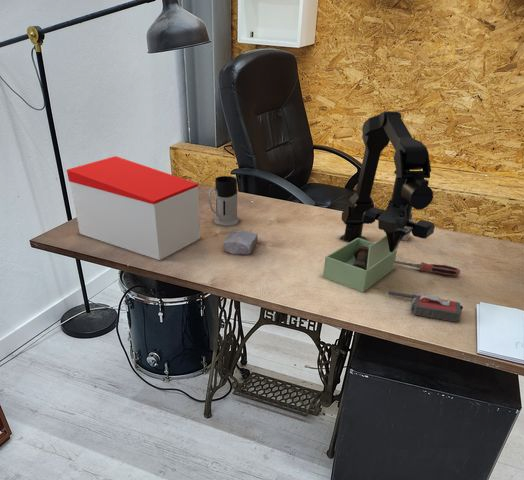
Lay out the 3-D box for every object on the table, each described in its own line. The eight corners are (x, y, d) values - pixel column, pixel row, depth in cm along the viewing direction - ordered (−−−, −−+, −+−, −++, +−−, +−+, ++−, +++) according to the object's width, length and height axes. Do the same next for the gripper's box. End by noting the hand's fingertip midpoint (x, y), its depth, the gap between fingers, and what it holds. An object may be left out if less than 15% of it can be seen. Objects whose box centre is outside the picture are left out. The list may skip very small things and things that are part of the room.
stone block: (222, 257, 152) (252, 255, 150) (219, 243, 150) (249, 241, 147) (231, 244, 162) (260, 242, 159) (229, 230, 159) (257, 228, 157)
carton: (354, 256, 153) (357, 237, 149) (392, 269, 146) (397, 250, 142) (322, 276, 140) (325, 256, 137) (362, 292, 134) (366, 271, 130)
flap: (400, 226, 138) (401, 226, 138) (396, 247, 142) (398, 248, 142) (369, 246, 126) (370, 246, 126) (366, 268, 130) (367, 269, 130)
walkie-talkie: (460, 307, 129) (386, 294, 133) (465, 293, 126) (389, 280, 130) (462, 324, 122) (384, 310, 126) (467, 309, 120) (387, 295, 124)
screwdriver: (376, 265, 148) (377, 256, 146) (377, 261, 150) (378, 252, 148) (458, 279, 143) (461, 270, 141) (458, 275, 145) (461, 266, 143)
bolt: (352, 287, 138) (359, 264, 150) (368, 282, 136) (374, 259, 147) (344, 270, 136) (352, 248, 147) (361, 265, 133) (368, 243, 145)
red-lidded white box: (123, 215, 173) (115, 155, 161) (200, 238, 159) (197, 175, 147) (78, 233, 159) (66, 169, 146) (159, 260, 145) (152, 192, 133)
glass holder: (243, 220, 174) (243, 178, 165) (220, 232, 164) (219, 188, 155) (223, 214, 178) (223, 174, 169) (200, 226, 168) (198, 183, 159)
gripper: (356, 195, 123) (348, 251, 133) (424, 212, 114) (410, 271, 123) (376, 186, 131) (367, 239, 140) (442, 201, 122) (427, 257, 131)
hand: (391, 251), depth 133 cm, fingers closed
